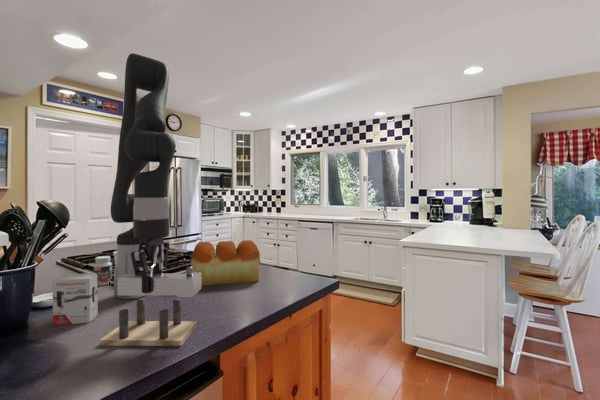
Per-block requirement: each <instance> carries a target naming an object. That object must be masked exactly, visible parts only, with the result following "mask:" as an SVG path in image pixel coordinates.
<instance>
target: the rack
mask: <svg viewBox="0 0 600 400" xmlns="http://www.w3.org/2000/svg"><path fill="white" fill-rule="evenodd" d="M158 314H159V315H158V316H159V320H152V321H151V320H146V298H143V297H139V298H136V320H129V309H126V308H125V309H124V308H123V309H120V310H119V311H118V323H119V324H118V327H116V328H115V329H113V330H112V331H110V332H109V333H107V334H106V335H105V336H103V337H102V338H101V339H99V346H109V347H110V346H113V347H114V346H117V347H118V346H119V347H121V346H123V347H124V346H126V347H127V346H128V347H129V346H133V347H135V346H136V347H139V346H140V347H148V346H149V347H153V346H154V347H182V346H183V345H184V343H185V342H186V341H187V340H188V339H189V337H190V336H191V335H192V333H193V332H194V330H195V329H196V328H197V327H198V320H197V321H196V320H195V321H194V320H193V321H191V320H189V321H188V320H186V321H184V320H182V299H181V297H177V298H174V299H172V320H169V310H168V309H167V308H165V309H161V310H159V313H158Z"/></svg>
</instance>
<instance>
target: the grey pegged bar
mask: <svg viewBox="0 0 600 400" xmlns="http://www.w3.org/2000/svg"><path fill="white" fill-rule="evenodd" d="M185 268H186V269H185V271H186V272H185V273H162V274H153V275H152V276H153V291H152V292H151V293H142V277H140V276H135V274H125V275H123V276H121V277H119V278H118V295H145V296H176V297H177V298H193V297H194V296H195V295H197V294H198V293H199V292H200V291H201V289H202V285H201V272H193V267H191V266H186V267H185Z"/></svg>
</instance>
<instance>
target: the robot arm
mask: <svg viewBox="0 0 600 400" xmlns="http://www.w3.org/2000/svg"><path fill="white" fill-rule="evenodd" d="M124 71H125V72H124V89H123V90H124V92H123V95H124V96H123V108H122V109H123V111H122V119H121V125H120V132H119V141H118V151H117V165H116V175H115V179H114V180H115V181H114V186H113V192H112V196H111V202H110V217H111V220H112V221H113V223H117V224H118V223H119V224H124V223H133V227H131V228H130V229H128V230H126V231H124V232H121V233H119V234H118V235H117V237H116V251H117V267H116V266H115V267H114V269H113V298H117V299H121V300H132V299H140V298H143V297H145V296H146V295H118V278H119V277H121V276H123V275H125V274H135V276H140V277H142V293H151V292H152V291H153V276H152V275H153V274H163V270H165V269H164V267H167V264H168V258H169V249H170V242H164V238H166V237H167V238H168V237H169V236H170V207H169V206H170V205H169V198H168V197H169V194H168V193H169V191H168V190H169V188H168V187H169V184H168V183H169V174H170V170H171V166H172V162H173V159H174V156H175V153H176V141H175V139H174V137H173V136H172V135H171V134H170V133H168V132H166V131H167V130H166V129H167V123H166V103H167V98H168V89H169V81H170V72H169V68H168V65H167V64H166V63H165V62H162V61H160V60H157V59H154V58H151V57H147V56H144V55H141V54H137V53H130V54H129V55H128V56H127V59H126V63H125V69H124ZM137 90H141V91H146V92H149V93H147V94H145V95H144V96H142V97H141V98H140V99H138V95H137ZM149 163H159V164H158V166H157V168H155V169H152V170H147V171H143V170H144V169H145V168H146V167H147V165H148V164H149ZM142 171H143V172H142ZM132 183H133V184H134V187H133V188H134V191H133V192H134V193H129V190H130V188H131V185H132Z"/></svg>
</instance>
